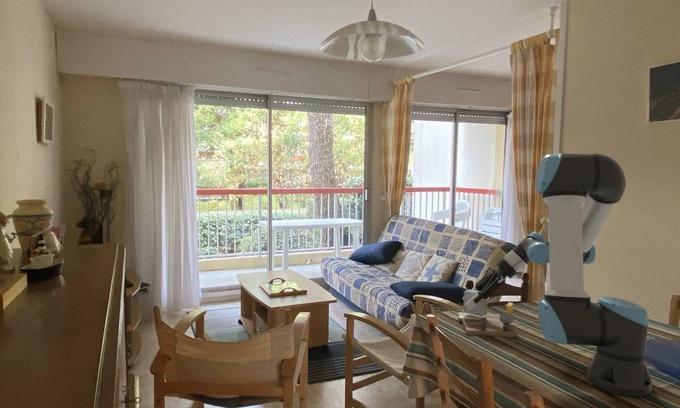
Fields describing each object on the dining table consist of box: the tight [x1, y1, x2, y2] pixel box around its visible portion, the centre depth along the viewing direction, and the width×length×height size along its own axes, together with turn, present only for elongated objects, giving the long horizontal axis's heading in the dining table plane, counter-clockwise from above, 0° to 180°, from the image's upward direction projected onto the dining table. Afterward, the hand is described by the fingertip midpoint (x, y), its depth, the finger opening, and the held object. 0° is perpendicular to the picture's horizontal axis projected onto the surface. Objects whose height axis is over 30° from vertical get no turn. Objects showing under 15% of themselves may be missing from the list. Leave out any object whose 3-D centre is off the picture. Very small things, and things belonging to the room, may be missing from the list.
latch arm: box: [499, 302, 514, 326], centre depth 164 cm, size 12×4×7 cm, turn 151°
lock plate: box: [457, 311, 517, 338], centre depth 170 cm, size 20×18×6 cm
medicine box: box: [463, 289, 488, 317], centre depth 175 cm, size 8×4×9 cm, turn 47°
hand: (466, 303), depth 176 cm, fingers closed on medicine box, 8 cm apart
